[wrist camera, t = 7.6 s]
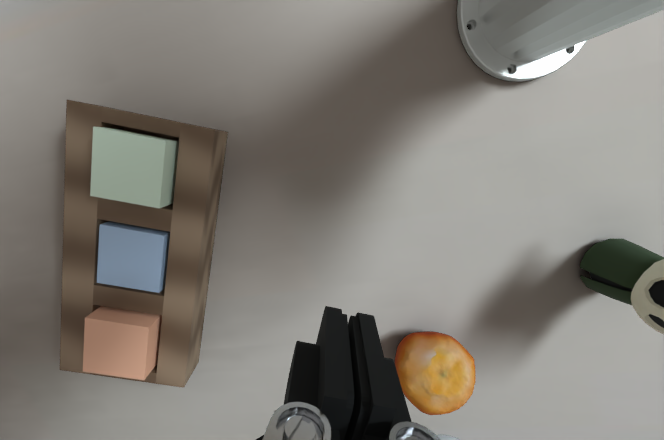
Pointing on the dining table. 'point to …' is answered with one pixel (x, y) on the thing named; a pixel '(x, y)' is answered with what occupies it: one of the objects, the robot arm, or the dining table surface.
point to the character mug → (628, 277)
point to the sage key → (133, 167)
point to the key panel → (178, 218)
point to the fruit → (435, 372)
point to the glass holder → (446, 437)
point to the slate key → (132, 256)
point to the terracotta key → (121, 342)
